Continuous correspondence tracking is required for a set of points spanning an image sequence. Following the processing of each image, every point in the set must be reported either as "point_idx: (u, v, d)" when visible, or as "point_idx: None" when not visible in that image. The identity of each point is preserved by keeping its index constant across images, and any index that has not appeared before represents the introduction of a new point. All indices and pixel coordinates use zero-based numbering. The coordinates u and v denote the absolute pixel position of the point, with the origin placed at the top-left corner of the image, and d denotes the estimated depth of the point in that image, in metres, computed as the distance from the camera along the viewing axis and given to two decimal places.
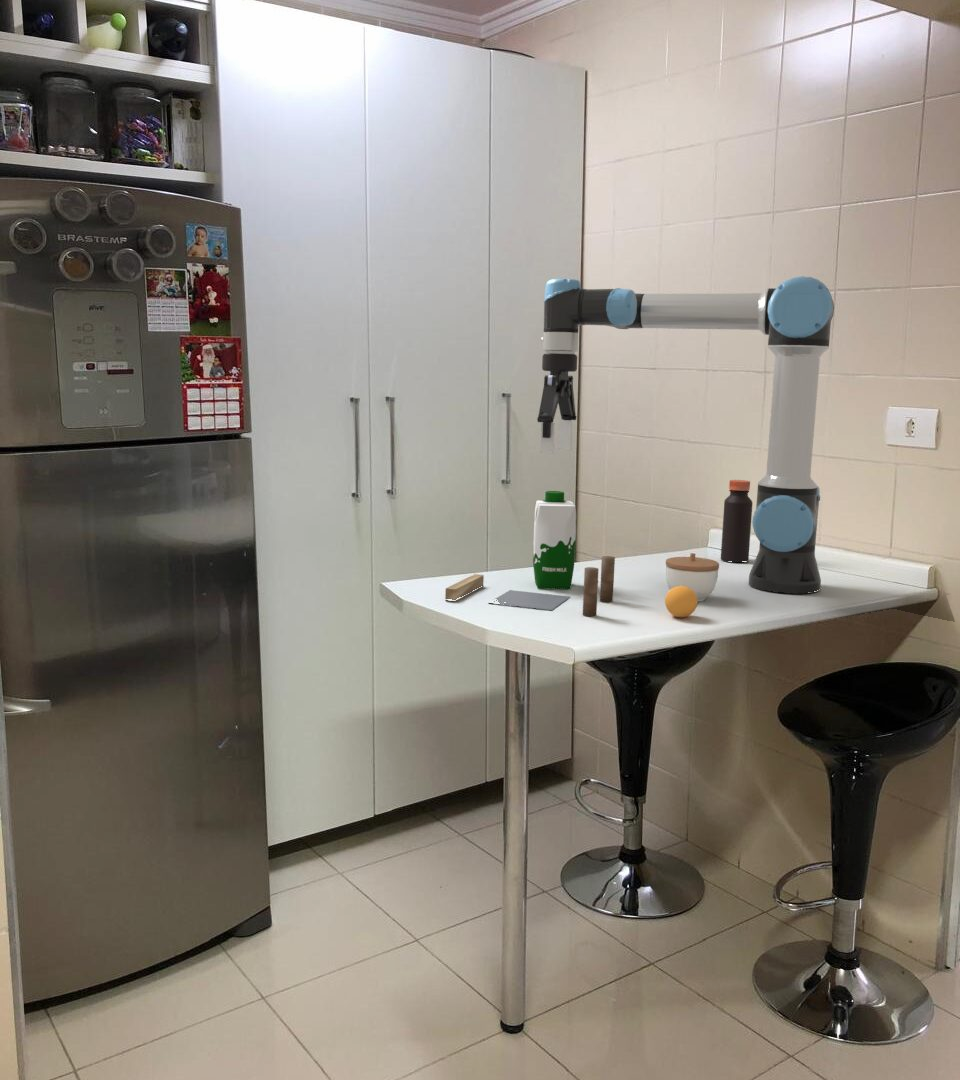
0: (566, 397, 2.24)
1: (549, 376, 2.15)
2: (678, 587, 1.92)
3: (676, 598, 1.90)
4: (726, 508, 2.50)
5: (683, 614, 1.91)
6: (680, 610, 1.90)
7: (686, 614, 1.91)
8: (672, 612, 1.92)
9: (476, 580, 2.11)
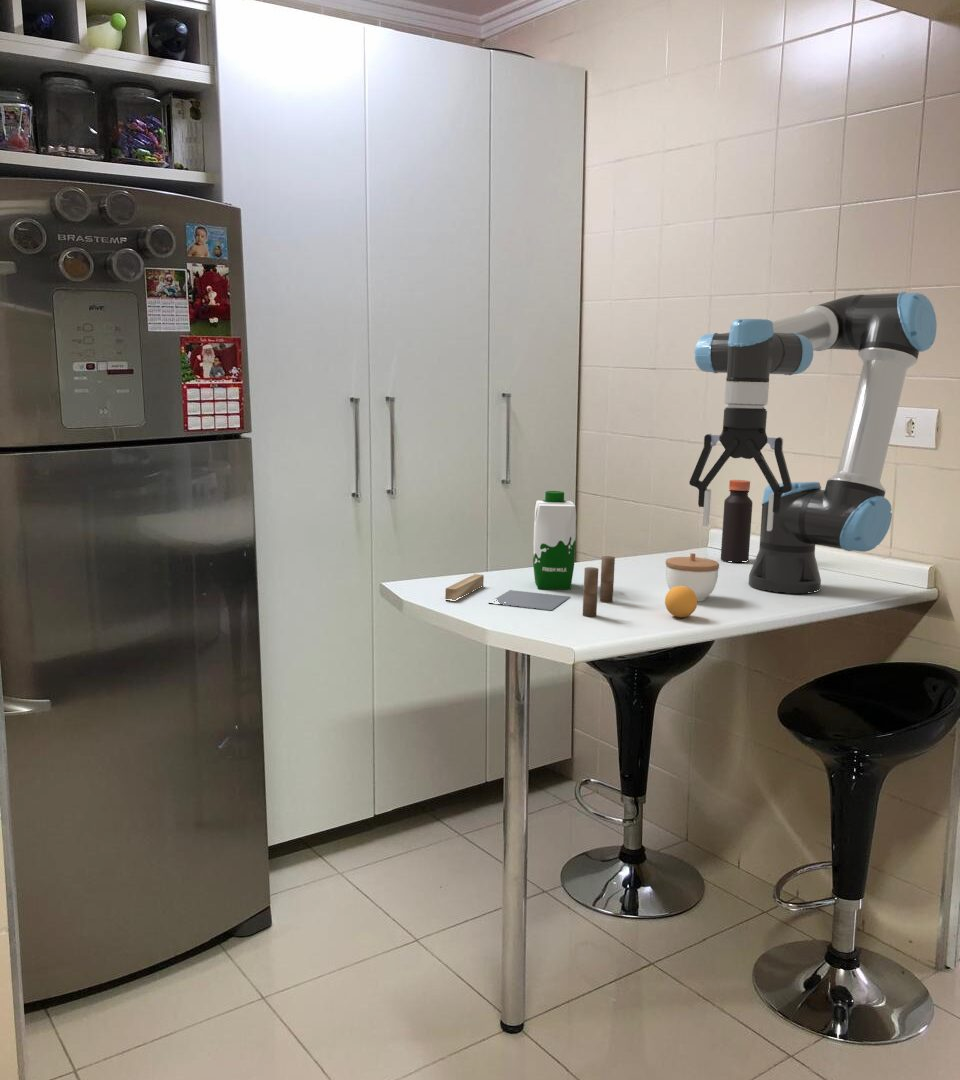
0: None
1: None
2: (678, 587, 1.92)
3: (676, 598, 1.90)
4: (726, 508, 2.50)
5: (683, 614, 1.91)
6: (680, 610, 1.90)
7: (686, 614, 1.91)
8: (672, 612, 1.92)
9: (476, 580, 2.11)
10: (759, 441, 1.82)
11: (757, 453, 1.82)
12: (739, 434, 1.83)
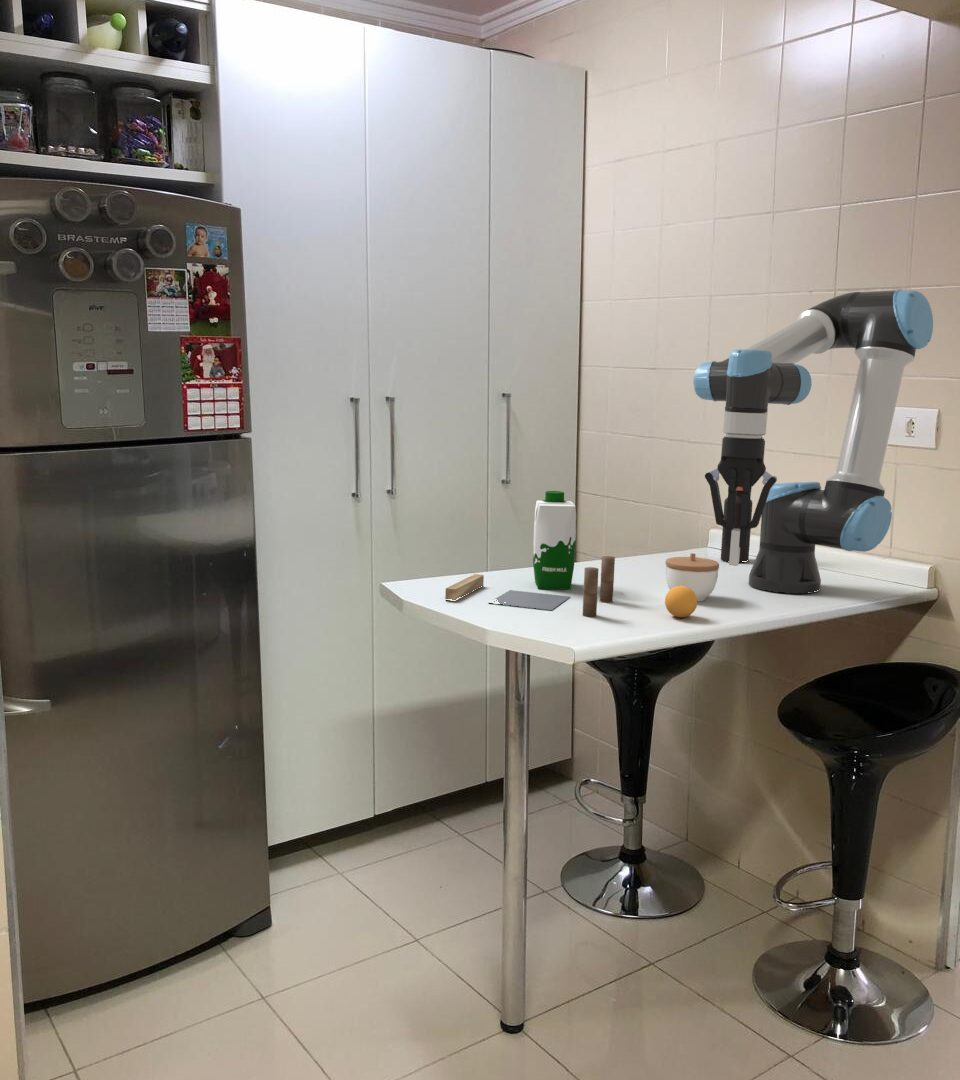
0: None
1: None
2: (678, 587, 1.92)
3: (676, 598, 1.90)
4: (726, 508, 2.50)
5: (683, 614, 1.91)
6: (680, 610, 1.90)
7: (686, 614, 1.91)
8: (672, 612, 1.92)
9: (476, 580, 2.11)
10: (757, 471, 1.83)
11: (748, 485, 1.83)
12: None
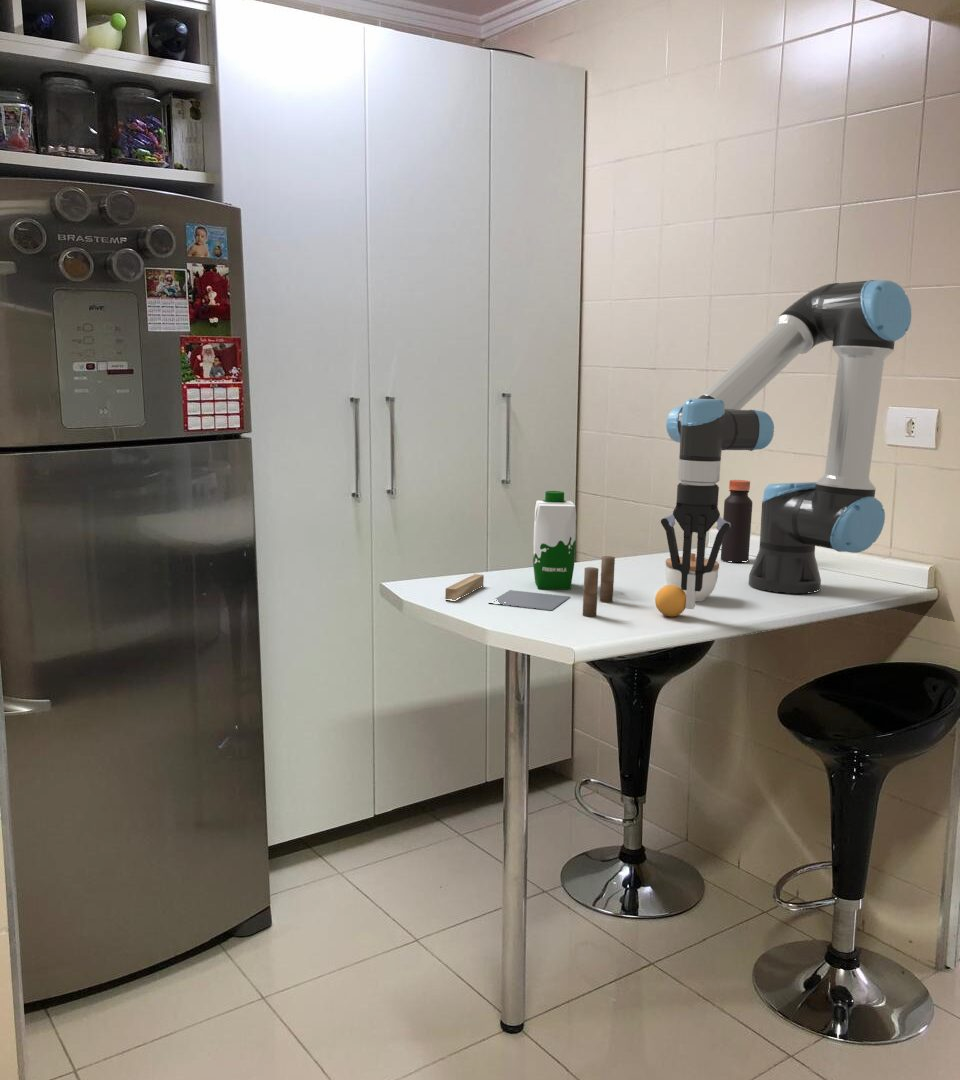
0: None
1: None
2: (662, 588, 1.93)
3: (664, 598, 1.91)
4: (726, 508, 2.50)
5: (677, 611, 1.91)
6: (672, 609, 1.91)
7: (680, 610, 1.91)
8: (666, 613, 1.92)
9: (476, 580, 2.11)
10: (711, 517, 1.87)
11: (703, 531, 1.87)
12: None
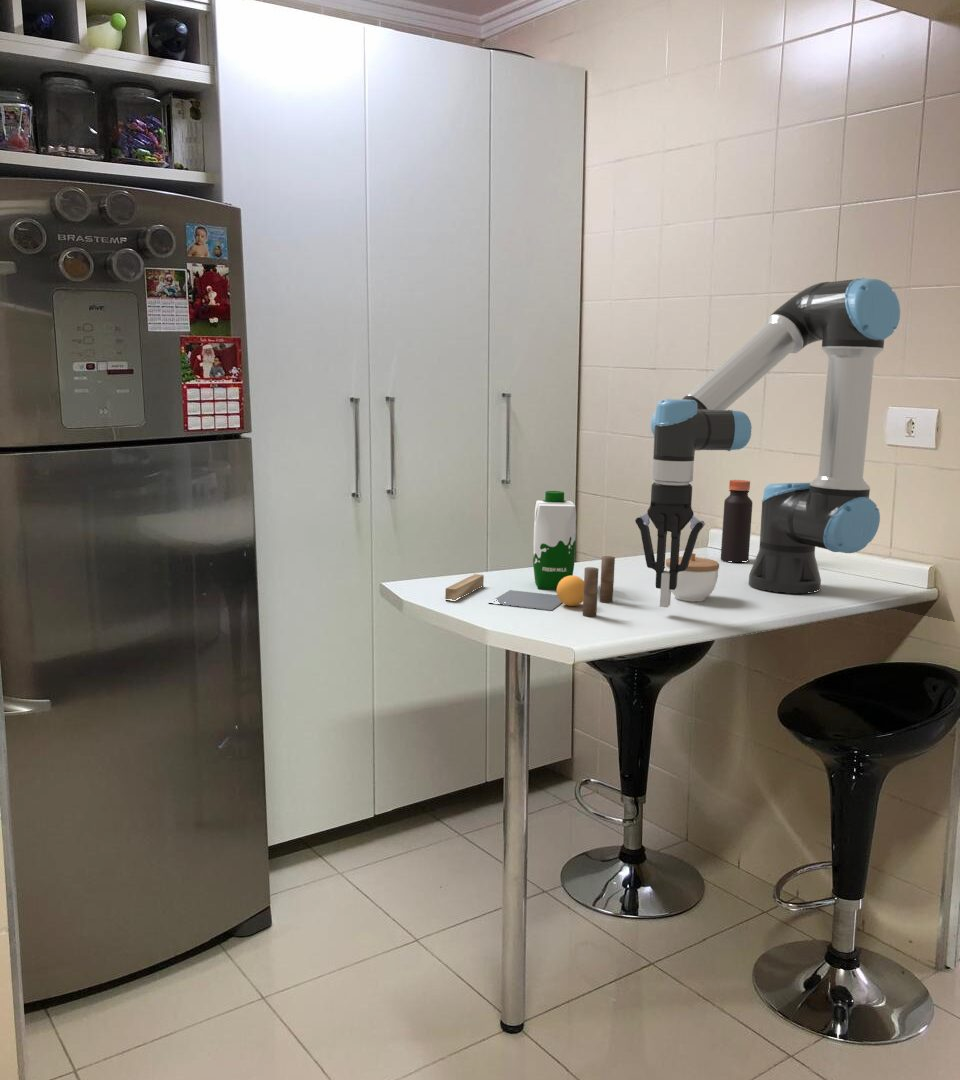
0: None
1: None
2: (561, 580, 1.99)
3: (563, 589, 1.97)
4: (726, 508, 2.50)
5: (577, 599, 1.97)
6: (572, 598, 1.97)
7: (580, 598, 1.98)
8: (568, 603, 1.98)
9: (476, 580, 2.11)
10: (685, 516, 1.89)
11: (676, 530, 1.89)
12: None
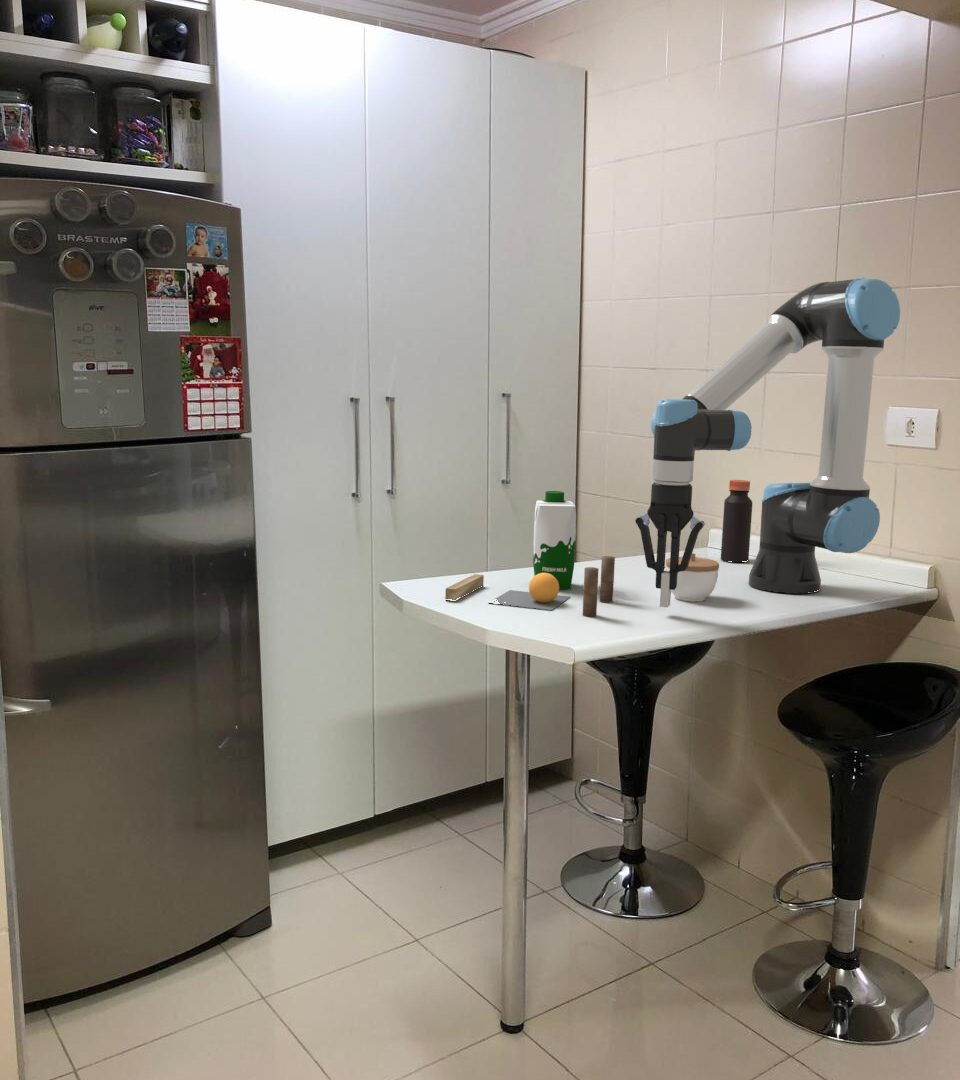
0: None
1: None
2: None
3: (538, 596, 1.99)
4: (726, 508, 2.50)
5: (544, 579, 1.99)
6: (542, 585, 1.99)
7: (543, 577, 2.00)
8: (551, 587, 1.99)
9: (476, 580, 2.11)
10: (685, 516, 1.89)
11: (676, 530, 1.89)
12: None
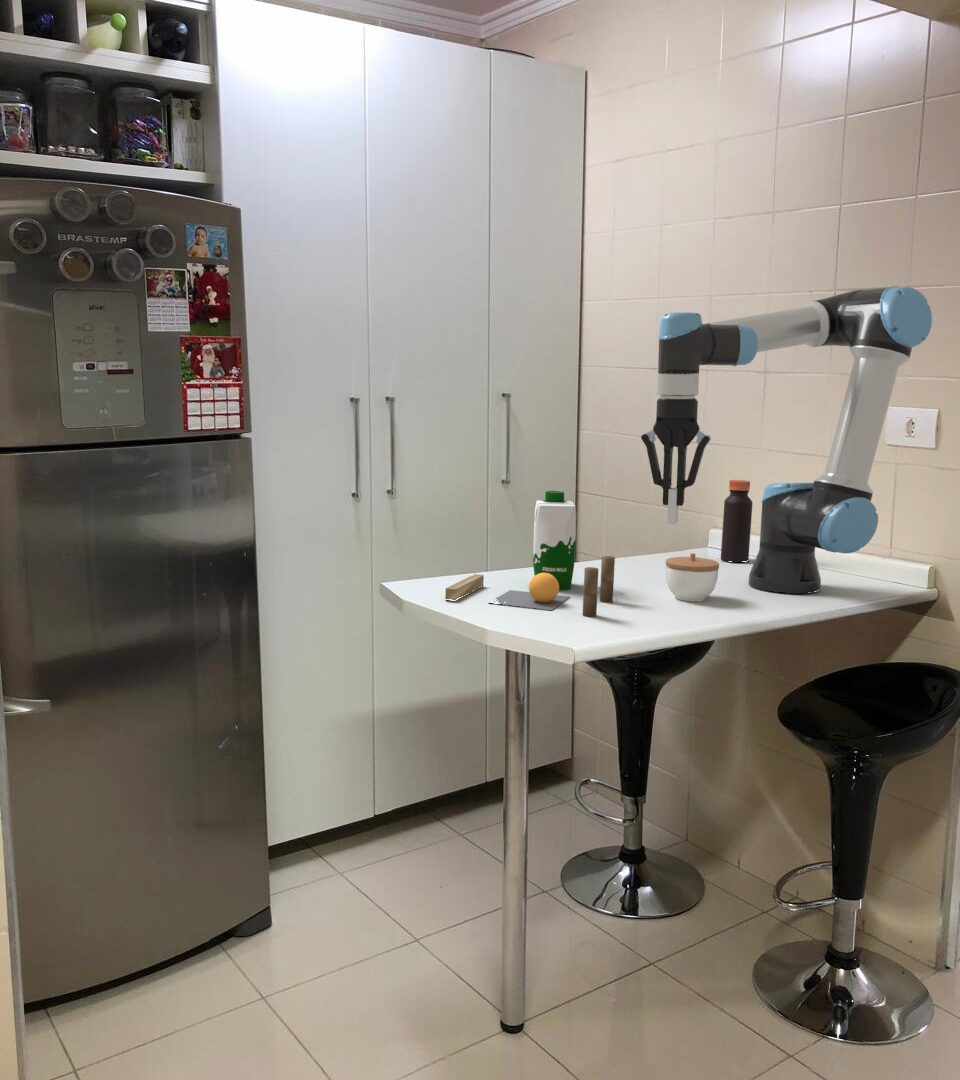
0: (678, 451, 1.90)
1: None
2: None
3: (538, 596, 1.99)
4: (726, 508, 2.50)
5: (544, 579, 1.99)
6: (542, 585, 1.99)
7: (543, 577, 2.00)
8: (551, 587, 1.99)
9: (476, 580, 2.11)
10: (691, 430, 1.89)
11: (682, 445, 1.89)
12: None
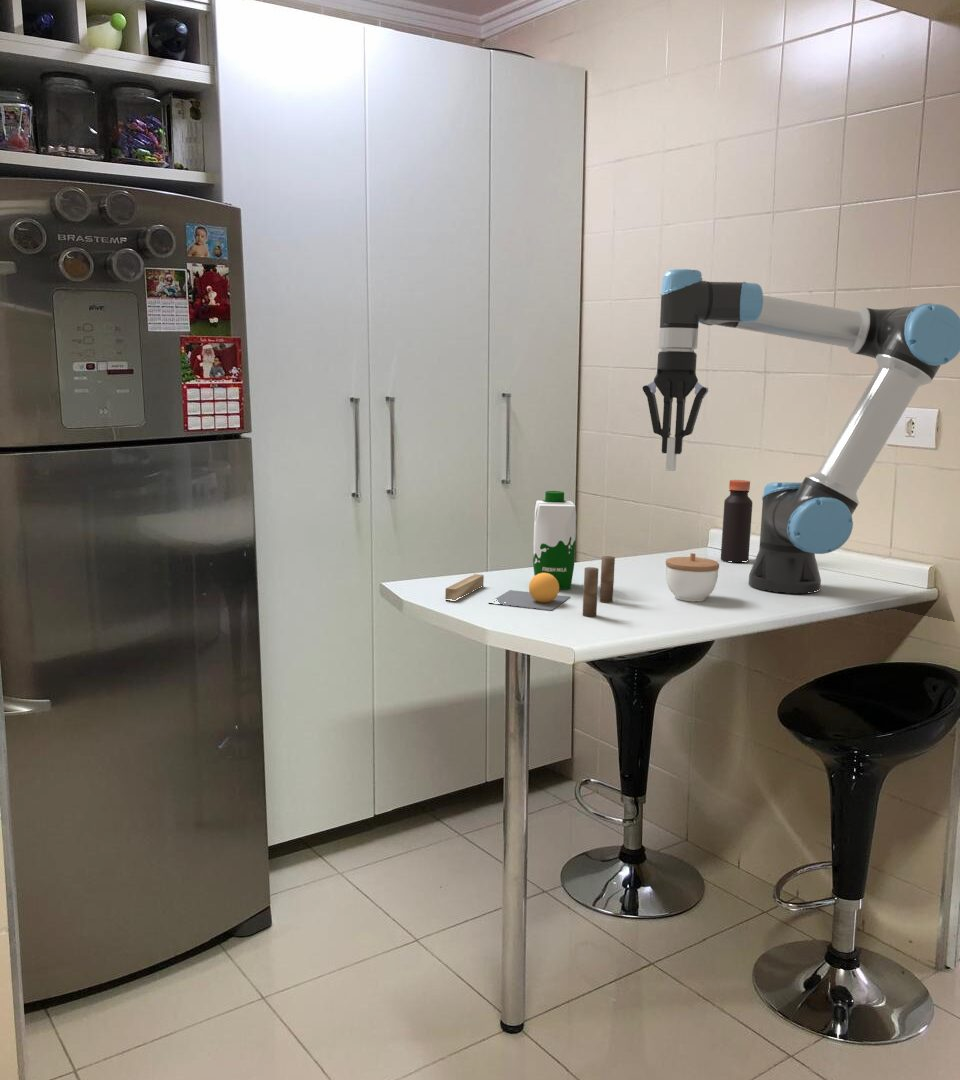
0: (677, 402, 2.01)
1: None
2: None
3: (538, 596, 1.99)
4: (726, 508, 2.50)
5: (544, 579, 1.99)
6: (542, 585, 1.99)
7: (543, 577, 2.00)
8: (551, 587, 1.99)
9: (476, 580, 2.11)
10: (689, 382, 1.99)
11: (681, 395, 2.00)
12: None
